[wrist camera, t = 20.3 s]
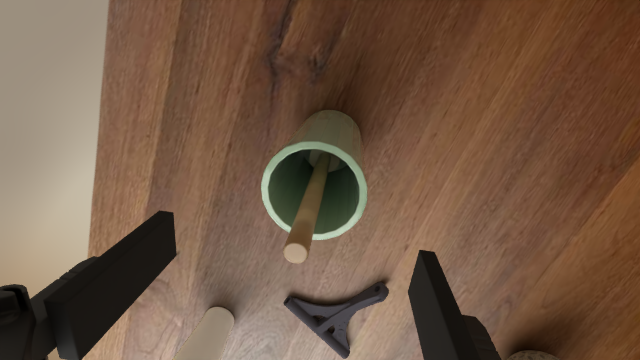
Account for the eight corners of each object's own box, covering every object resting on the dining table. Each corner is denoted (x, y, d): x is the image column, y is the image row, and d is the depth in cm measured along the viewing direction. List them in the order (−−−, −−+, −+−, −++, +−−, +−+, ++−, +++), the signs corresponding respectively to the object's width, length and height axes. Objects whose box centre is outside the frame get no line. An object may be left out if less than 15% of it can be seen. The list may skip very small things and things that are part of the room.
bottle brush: (310, 142, 39) (252, 246, 17) (331, 126, 38) (299, 214, 16) (326, 162, 40) (291, 288, 17) (347, 147, 39) (339, 260, 16)
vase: (284, 136, 40) (239, 183, 24) (335, 95, 38) (321, 118, 22) (324, 184, 42) (306, 256, 26) (374, 148, 39) (388, 204, 24)
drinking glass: (201, 327, 54) (148, 419, 40) (201, 298, 52) (145, 384, 38) (238, 335, 54) (198, 430, 40) (240, 305, 51) (198, 396, 37)
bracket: (414, 311, 48) (417, 325, 45) (342, 351, 53) (342, 366, 50) (354, 250, 45) (354, 261, 43) (284, 298, 50) (281, 311, 47)
